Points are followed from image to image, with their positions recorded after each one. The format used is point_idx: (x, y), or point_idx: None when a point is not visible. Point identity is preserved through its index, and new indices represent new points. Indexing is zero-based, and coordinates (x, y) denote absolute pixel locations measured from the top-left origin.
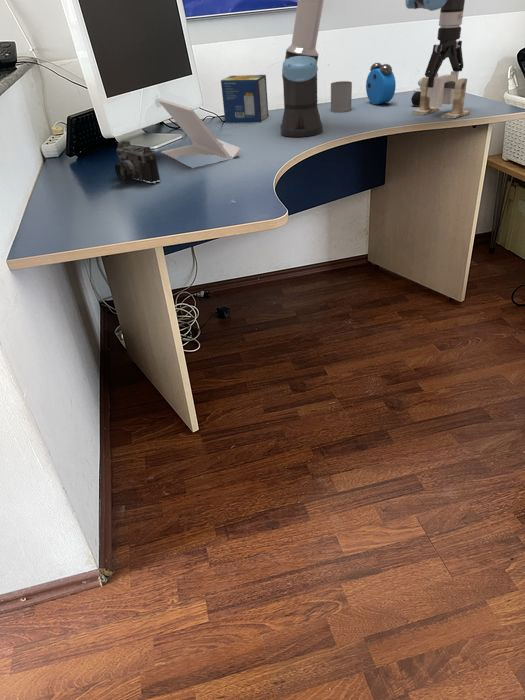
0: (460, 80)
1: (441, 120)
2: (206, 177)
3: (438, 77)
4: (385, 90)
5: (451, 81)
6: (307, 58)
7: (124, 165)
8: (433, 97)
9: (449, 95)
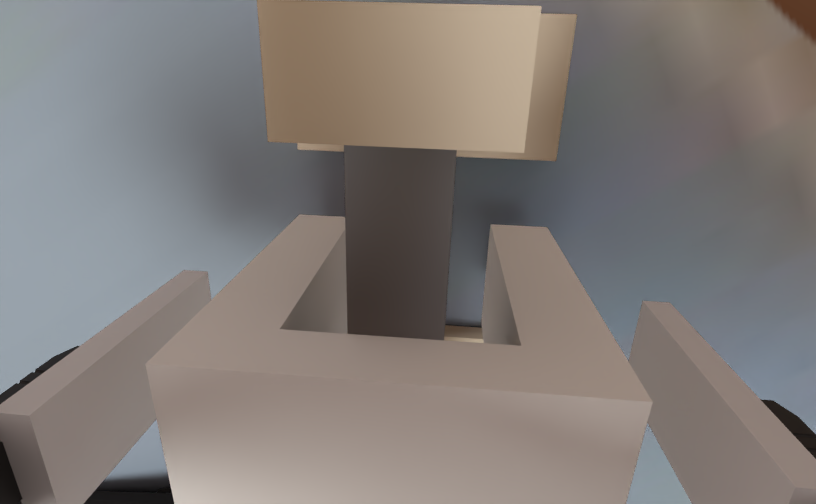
0: (534, 20)
1: (656, 97)
2: None
3: None
4: None
5: (363, 303)
6: None
7: None
8: (665, 303)
9: (336, 260)
